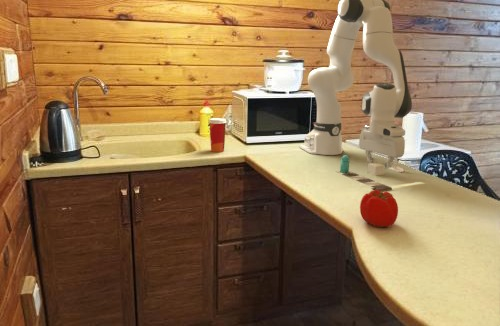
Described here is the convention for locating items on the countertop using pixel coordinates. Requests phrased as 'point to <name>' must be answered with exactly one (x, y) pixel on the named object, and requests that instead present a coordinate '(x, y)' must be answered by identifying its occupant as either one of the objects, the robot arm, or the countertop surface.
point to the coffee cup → (217, 134)
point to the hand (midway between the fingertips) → (378, 164)
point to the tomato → (379, 208)
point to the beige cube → (375, 169)
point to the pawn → (344, 164)
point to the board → (367, 181)
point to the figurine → (396, 165)
